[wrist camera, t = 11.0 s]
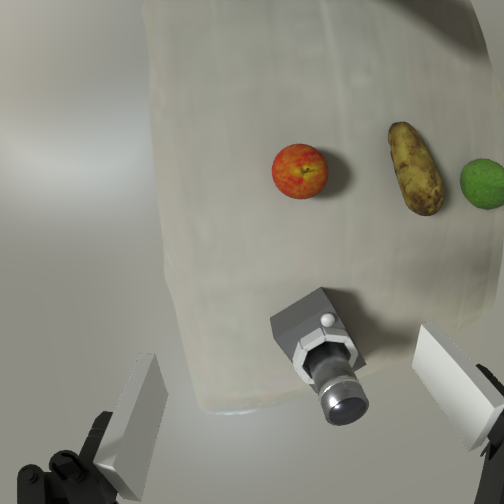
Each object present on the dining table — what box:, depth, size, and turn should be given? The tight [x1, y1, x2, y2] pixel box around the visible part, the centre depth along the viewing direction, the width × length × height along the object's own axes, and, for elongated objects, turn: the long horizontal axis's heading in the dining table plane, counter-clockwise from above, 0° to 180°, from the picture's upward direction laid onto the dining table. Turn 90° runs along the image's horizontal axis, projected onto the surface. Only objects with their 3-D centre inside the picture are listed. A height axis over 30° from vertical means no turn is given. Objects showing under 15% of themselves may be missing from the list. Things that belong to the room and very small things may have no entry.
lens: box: [306, 341, 369, 426], centre depth 35 cm, size 5×5×12 cm
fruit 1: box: [272, 144, 328, 199], centre depth 36 cm, size 7×7×8 cm
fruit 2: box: [460, 159, 504, 210], centre depth 35 cm, size 8×8×12 cm
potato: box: [388, 122, 444, 216], centre depth 36 cm, size 8×13×8 cm, turn 178°
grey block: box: [270, 287, 366, 393], centre depth 43 cm, size 13×9×8 cm
